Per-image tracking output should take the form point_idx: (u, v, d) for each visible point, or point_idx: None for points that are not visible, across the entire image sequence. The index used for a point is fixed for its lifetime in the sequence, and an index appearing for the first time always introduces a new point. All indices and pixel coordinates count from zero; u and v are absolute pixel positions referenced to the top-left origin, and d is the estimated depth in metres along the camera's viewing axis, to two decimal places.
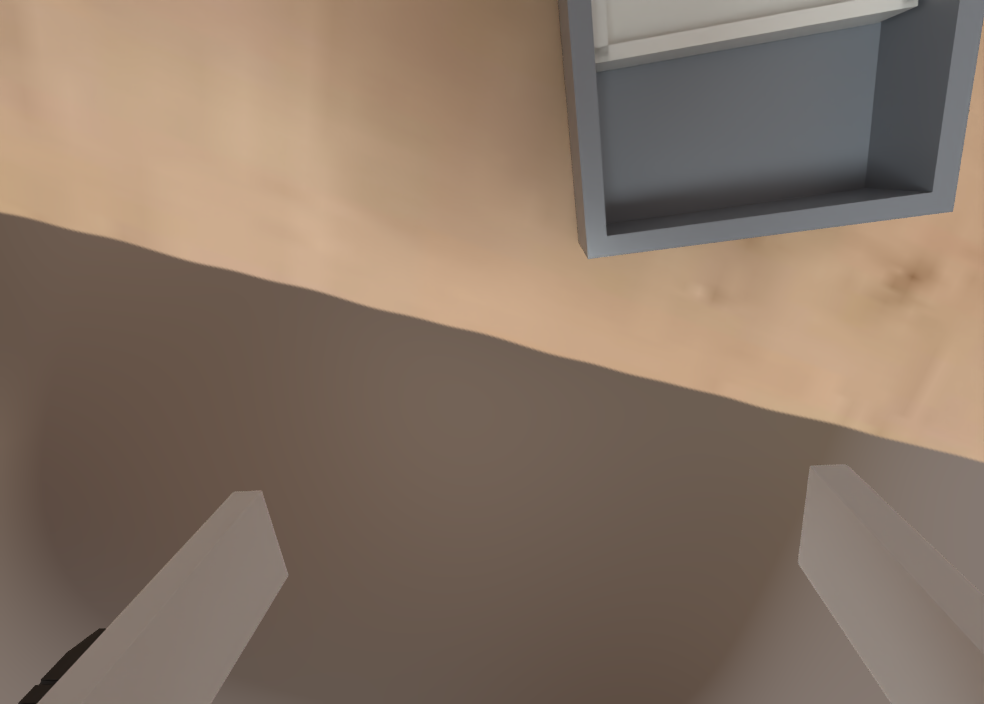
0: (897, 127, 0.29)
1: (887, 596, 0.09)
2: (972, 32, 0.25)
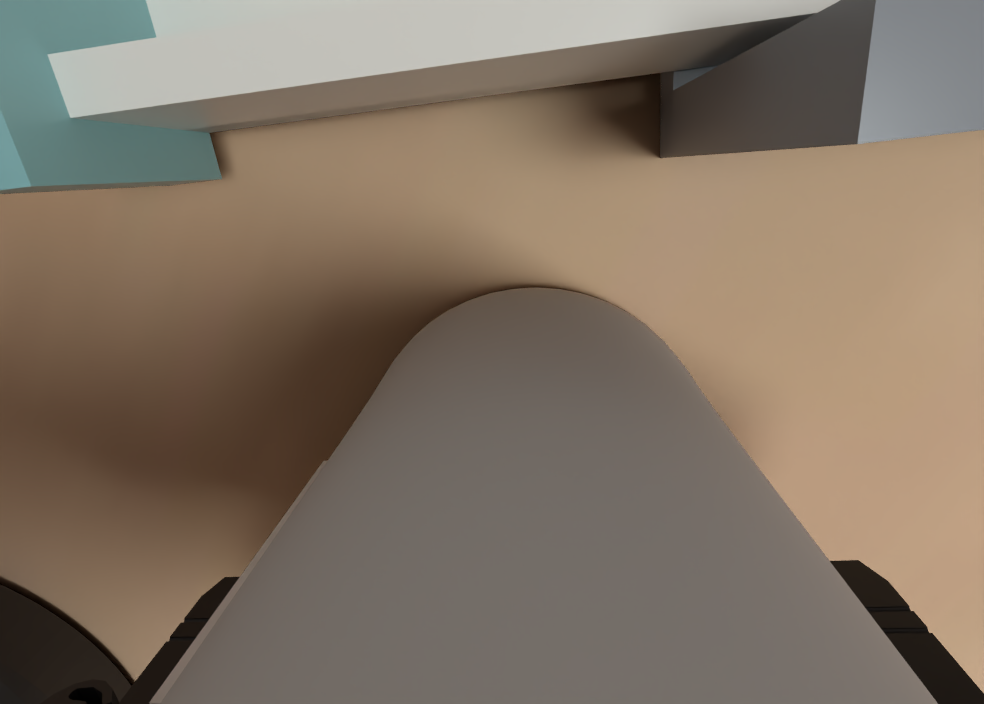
0: None
1: None
2: None
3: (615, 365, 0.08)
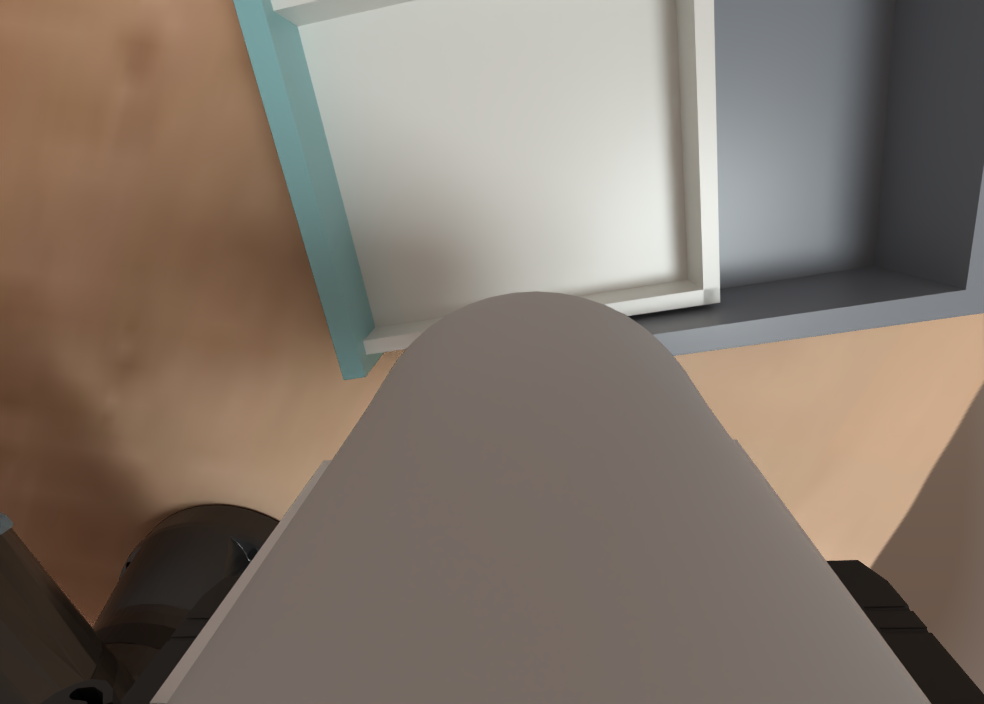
0: None
1: None
2: None
3: (615, 371, 0.08)
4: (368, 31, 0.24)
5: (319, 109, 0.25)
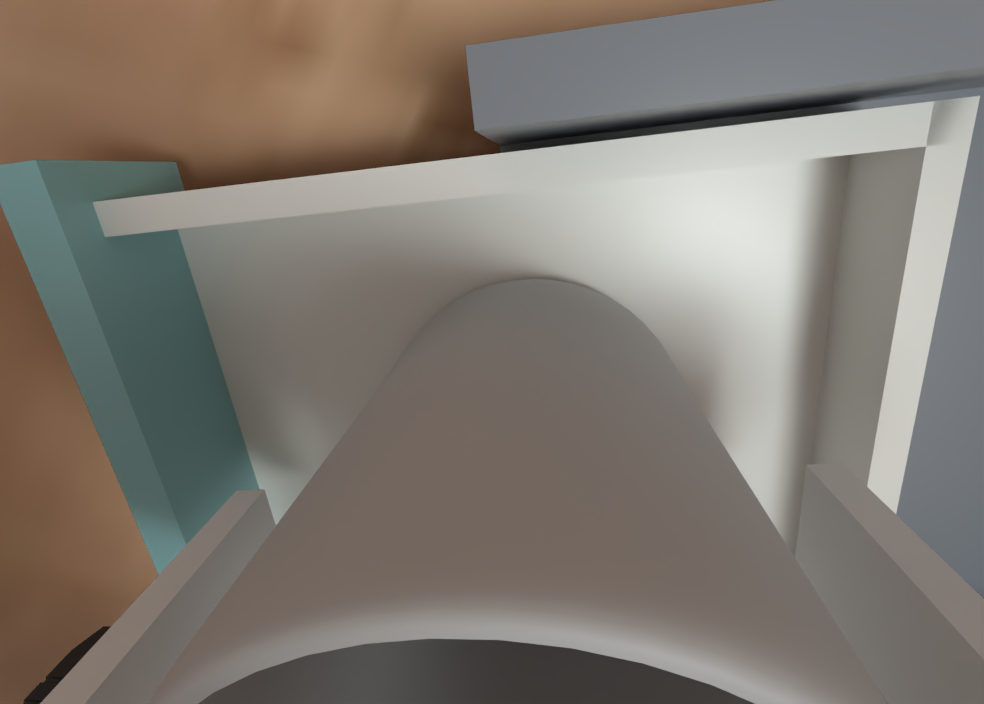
0: None
1: (882, 594, 0.09)
2: None
3: (590, 339, 0.09)
4: (295, 243, 0.14)
5: (216, 346, 0.15)
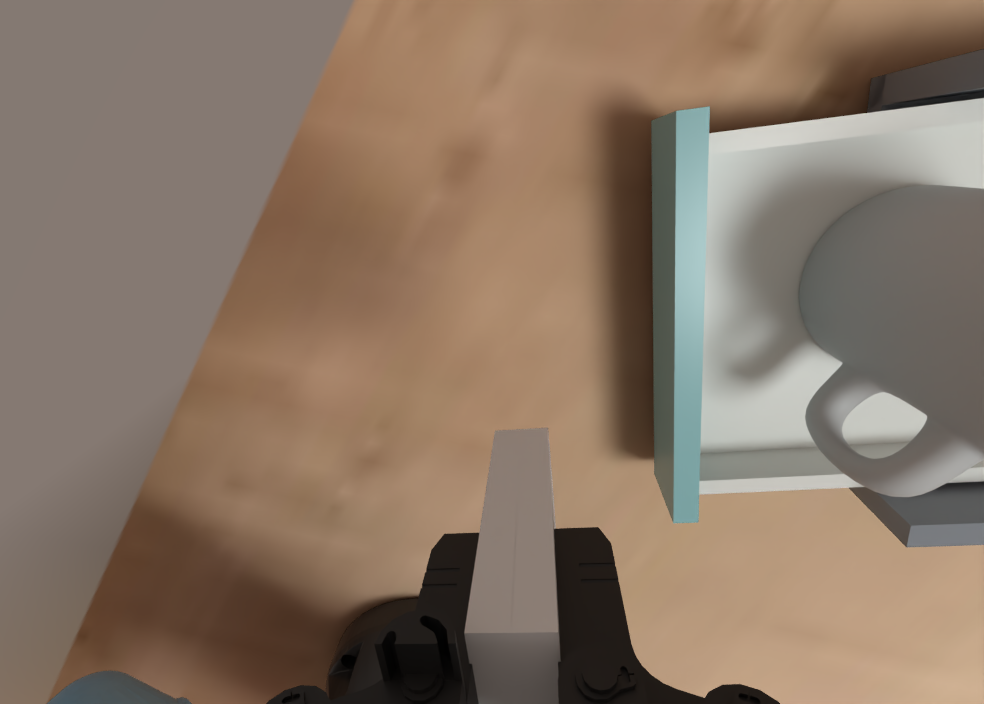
0: None
1: None
2: None
3: None
4: (761, 167, 0.22)
5: None
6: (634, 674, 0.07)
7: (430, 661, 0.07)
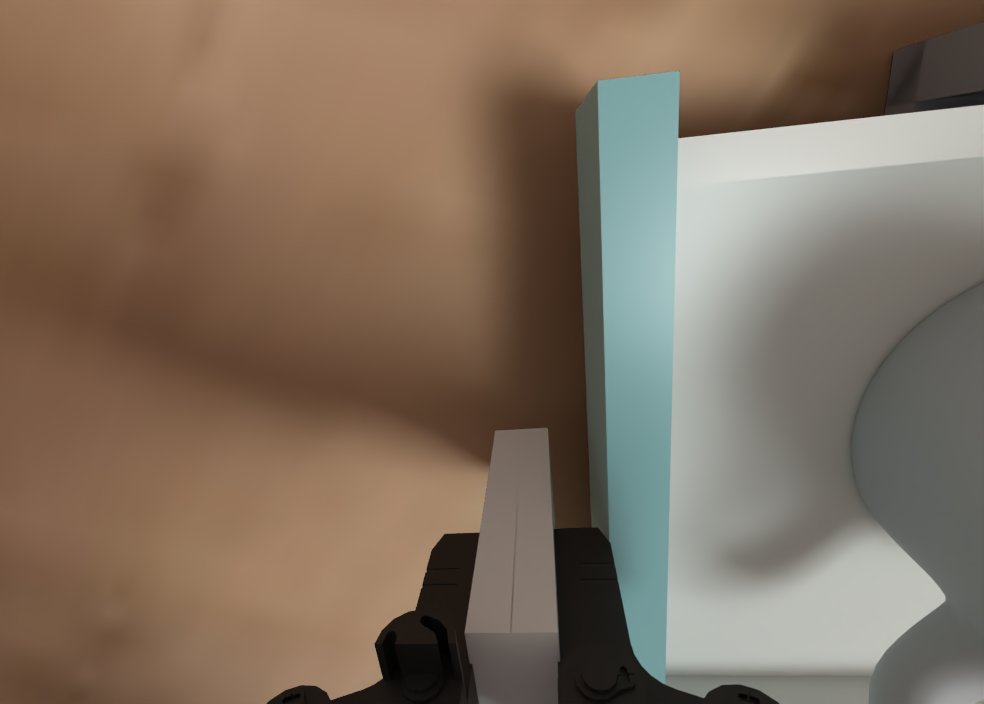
0: None
1: None
2: None
3: None
4: (789, 207, 0.11)
5: None
6: (634, 674, 0.07)
7: (430, 661, 0.07)
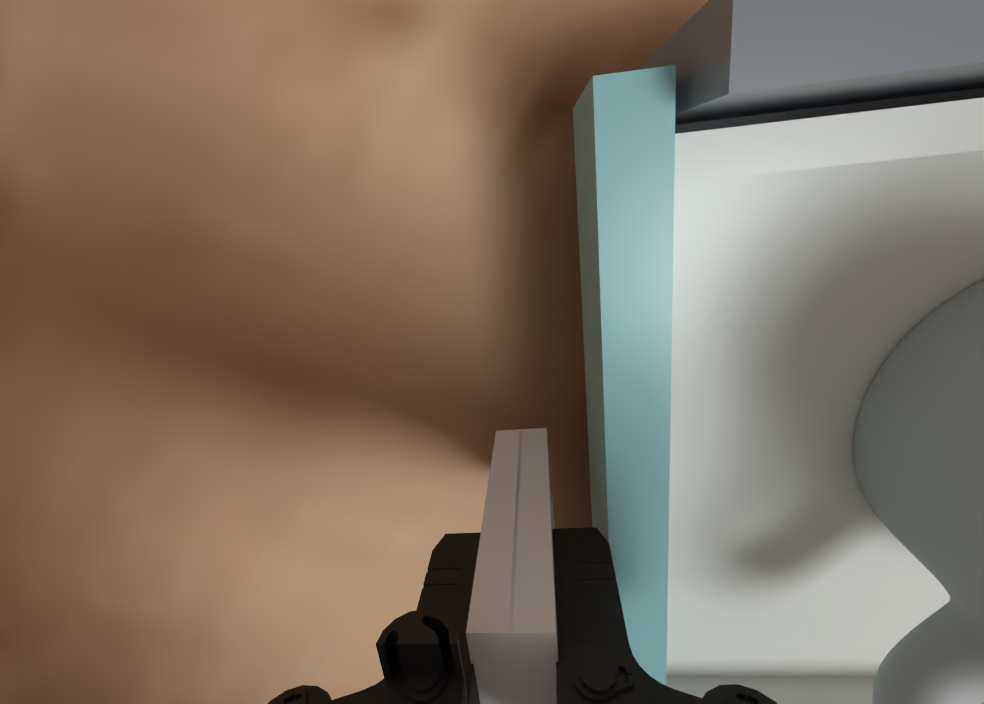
0: None
1: None
2: None
3: None
4: (789, 204, 0.11)
5: None
6: (632, 674, 0.07)
7: (432, 661, 0.07)
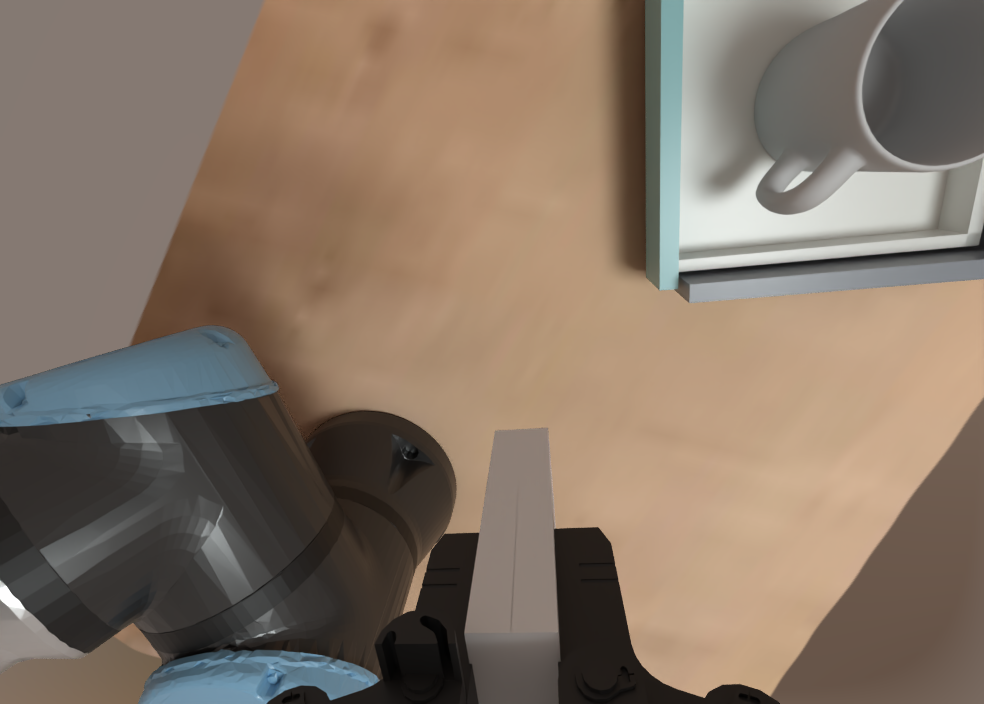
0: None
1: None
2: None
3: None
4: (724, 9, 0.30)
5: None
6: (634, 674, 0.07)
7: (430, 661, 0.07)
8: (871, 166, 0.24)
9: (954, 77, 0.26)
